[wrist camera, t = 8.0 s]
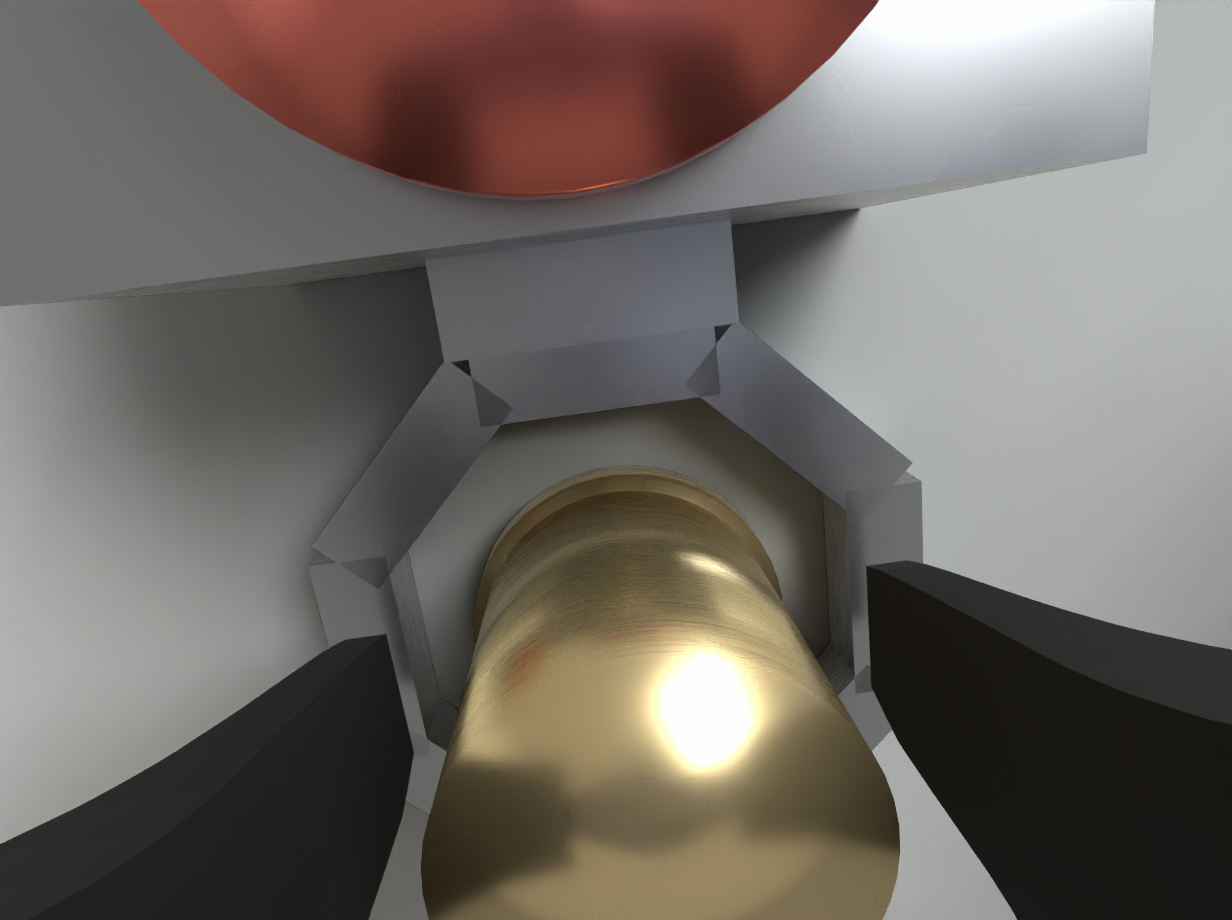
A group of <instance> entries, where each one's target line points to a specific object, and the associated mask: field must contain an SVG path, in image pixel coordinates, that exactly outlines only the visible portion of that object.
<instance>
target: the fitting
mask: <svg viewBox="0 0 1232 920" xmlns="http://www.w3.org/2000/svg"><path fill="white" fill-rule="evenodd" d="M474 638H475V644H476V647H475V650H474V654H473V658H472V661H471V665H470V669H469V672H468V676H467V680H466V683H465V687H464V691H463V694H462V698H461V702H460V705H459V709H458V713H457V716H456V720H455V724H454V727H453V731H452V735H451V738H450V742H449V746H448V749H447V753H446V757H445V760H444V764H443V767H442V771H441V775H440V778H439V782H438V786H437V789H436V793H435V797H434V800H433V804H432V808H431V811H430V815H429V819H428V823H427V827H426V831H425V835H424V840H423V848H422V860H421V876H422V889H423V897H424V901H425V905H426V909H427V913H428V917H429V920H882V919H883V917H884V915H885V912H886V910H887V908H888V906H889V903H890V900H891V897H892V893H893V890H894V886H895V882H896V879H897V872H898V864H899V856H900V836H899V822H898V817H897V812H896V807H895V802H894V798H893V796H892V793H891V790H890V788H889V785H888V782H887V779H886V777H885V774H884V773H883V771H882V769H881V767H880V765H879V764H878V762H877V760H876V758H875V757H874V755H873V753H872V751H871V750H870V748H869V746H868V745H867V743H866V741H865V740H864V738H863V736H862V735H861V733H860V731H859V730H858V728H857V726H856V725H855V723H854V721H853V720H852V718H851V716H850V715H849V713H848V711H847V710H846V708H845V706H844V705H843V703H842V701H841V700H840V698H839V696H838V695H837V693H836V691H835V690H834V688H833V686H832V685H831V683H830V681H829V680H828V678H827V676H826V675H825V673H824V671H823V670H822V668H821V666H820V665H819V663H818V661H817V660H816V658H815V656H814V655H813V653H812V651H811V650H810V648H809V646H808V645H807V643H806V641H805V640H804V638H803V636H802V635H801V633H800V631H799V630H798V628H797V626H796V625H795V623H794V621H793V620H792V618H791V616H790V615H789V613H788V611H787V610H786V608H785V606H784V605H783V603H782V596H781V591H780V587H779V582H778V578H777V576H776V573H775V570H774V568H773V565H772V562H771V560H770V558H769V557H768V555H767V553H766V551H765V550H764V548H763V546H762V544H761V543H760V541H759V540H758V538H757V537H756V535H755V533H754V532H753V530H752V529H751V527H750V526H749V525H748V523H747V522H746V521H745V520H744V518H743V517H742V516H741V514H740V513H739V512H738V511H737V510H736V509H735V508H734V507H733V506H732V505H731V504H730V503H729V502H728V501H727V500H725V499H724V498H723V497H721V496H720V495H719V494H717V493H716V492H715V491H713V490H712V489H710V488H709V487H707V486H705V485H703V484H701V483H700V482H698V481H696V480H694V479H691V478H689V477H686V476H684V475H681V474H679V473H676V472H672V471H668V470H664V469H660V468H654V467H645V466H613V467H606V468H599V469H595V470H591V471H587V472H584V473H580V474H577V475H575V476H572V477H570V478H567V479H565V480H562V481H560V482H558V483H556V484H555V485H553V486H551V487H549V488H548V489H546V490H544V491H543V492H541V493H540V494H539V495H537V496H536V497H535V498H533V499H532V500H531V501H529V502H528V503H527V504H526V505H525V506H524V507H523V508H522V509H521V510H520V511H519V512H518V513H517V514H516V515H515V516H514V517H513V518H512V519H511V521H510V522H509V523H508V524H507V526H506V527H505V528H504V530H503V531H502V532H501V534H500V536H499V538H498V539H497V541H496V543H495V545H494V546H493V548H492V551H491V553H490V556H489V558H488V561H487V563H486V566H485V569H484V572H483V576H482V579H481V582H480V586H479V590H478V594H477V598H476V602H475V612H474Z"/></svg>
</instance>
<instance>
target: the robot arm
mask: <svg viewBox="0 0 1232 920" xmlns="http://www.w3.org/2000/svg"><path fill="white" fill-rule="evenodd" d="M866 579H867V602H868V625H869V647H870V670H871V687H872V689H873V691H874V693H875V696H876V698H877V700H878V702H879V704H880V706H881V708H882V710H883V712H884V714H885V716H886V718H887V720H888V722H889V724H890V726H891V728H892V730H893V732H894V734H895V736H896V738H897V740H898V741H899V743H900V745H901V746H902V748H903V749H904V751H905V752H906V754H907V755H908V757H909V758H910V760H911V761H912V763H913V764H914V766H915V767H916V769H917V770H918V772H919V773H920V775H921V776H922V777H923V779H924V780H925V782H926V783H927V785H928V786H929V788H930V789H931V791H932V792H933V794H934V795H935V796H936V798H937V799H938V801H939V802H940V804H941V805H942V806H943V808H944V809H945V811H946V812H947V814H948V815H949V817H950V818H951V819H952V821H953V822H954V824H955V825H956V827H957V828H958V830H959V831H960V832H961V834H962V835H963V837H964V838H965V840H966V841H967V842H968V844H969V845H970V847H971V848H972V850H973V851H974V853H975V854H976V855H977V857H978V858H979V860H980V861H981V863H982V864H983V866H984V867H985V868H986V870H987V871H988V873H989V874H990V876H991V877H992V879H993V880H994V882H995V884H996V885H997V887H998V888H999V890H1000V891H1001V893H1002V895H1003V896H1004V898H1005V899H1006V901H1007V903H1008V904H1009V906H1010V907H1011V909H1012V911H1013V912H1014V914H1015V916H1016V918H1017V920H1232V650H1230V649H1225V648H1219V647H1214V646H1208V645H1203V644H1198V643H1193V642H1189V641H1184V640H1180V639H1175V638H1171V637H1166V636H1162V635H1157V634H1153V633H1148V632H1144V631H1139V630H1135V629H1131V628H1127V627H1123V626H1119V625H1115V624H1112V623H1108V622H1104V621H1101V620H1098V619H1094V618H1091V617H1087V616H1084V615H1080V614H1077V613H1073V612H1070V611H1066V610H1063V609H1060V608H1056V607H1053V606H1050V605H1047V604H1044V603H1041V602H1038V601H1034V600H1031V599H1028V598H1025V597H1022V596H1019V595H1016V594H1013V593H1010V592H1007V591H1004V590H1002V589H999V588H996V587H993V586H990V585H987V584H984V583H981V582H978V581H975V580H972V579H970V578H967V577H964V576H961V575H958V574H955V573H952V572H949V571H946V570H943V569H939V568H936V567H933V566H930V565H926V564H922V563H918V562H914V561H908V560H904V561H897V562H890V563H883V564H876V565H869V566H866ZM413 756H414V750H413V746H412V742H411V738H410V733H409V729H408V725H407V720H406V716H405V712H404V708H403V703H402V699H401V695H400V691H399V686H398V682H397V678H396V673H395V669H394V665H393V661H392V656H391V652H390V648H389V644H388V639H387V635H386V634H381V635H374V636H367V637H360V638H353V639H346V640H344V641H342V642H340V643H338V644H336V645H334V646H332V647H330V648H329V649H327V650H326V651H324V652H322V653H321V654H319V655H318V656H316V657H315V658H313V659H312V660H310V661H309V662H307V663H306V664H305V665H303V666H302V667H300V668H299V669H297V670H296V671H294V672H293V673H292V674H290V675H289V676H287V677H286V678H285V679H283V680H282V681H280V682H279V683H277V684H276V685H275V686H273V687H272V688H270V689H269V690H267V691H266V692H265V693H263V694H262V695H260V696H259V697H257V698H256V699H255V700H253V701H252V702H250V703H249V704H247V705H246V706H245V707H243V708H242V709H240V710H239V711H237V712H236V713H234V714H233V715H231V716H230V717H228V718H227V719H225V720H223V721H222V722H220V723H219V724H217V725H216V726H214V727H213V728H211V729H210V730H208V731H207V732H205V733H204V734H202V735H201V736H199V737H197V738H196V739H194V740H193V741H191V742H190V743H188V744H187V745H185V746H184V747H182V748H181V749H179V750H178V751H176V752H174V753H173V754H171V755H169V756H168V757H166V758H165V759H163V760H161V761H160V762H158V763H156V764H155V765H153V766H151V767H149V768H148V769H146V770H144V771H143V772H141V773H139V774H137V775H136V776H134V777H132V778H130V779H128V780H127V781H125V782H123V783H121V784H119V785H118V786H116V787H114V788H112V789H110V790H108V791H107V792H105V793H103V794H101V795H99V796H98V797H96V798H94V799H92V800H90V801H88V802H86V803H84V804H82V805H81V806H79V807H77V808H75V809H73V810H71V811H68V812H66V813H64V814H62V815H60V816H58V817H56V818H54V819H52V820H50V821H48V822H46V823H43V824H41V825H39V826H37V827H35V828H33V829H31V830H29V831H27V832H25V833H23V834H21V835H19V836H16V837H14V838H12V839H10V840H8V841H6V842H4V843H2V844H0V920H368V919H369V916H370V913H371V910H372V907H373V904H374V901H375V898H376V895H377V892H378V889H379V886H380V883H381V880H382V877H383V874H384V871H385V868H386V865H387V862H388V859H389V856H390V853H391V850H392V847H393V844H394V841H395V838H396V835H397V832H398V828H399V825H400V822H401V819H402V816H403V811H404V806H405V801H406V796H407V791H408V785H409V779H410V773H411V767H412V762H413Z"/></svg>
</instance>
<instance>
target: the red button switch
mask: <svg viewBox="0 0 1232 920" xmlns="http://www.w3.org/2000/svg"><path fill="white" fill-rule="evenodd" d="M1154 5H1155V0H0V306H12V305H25V304H38V303H52V302H65V301H78V300H91V299H105V298H118V297H131V296H144V295H157V294H171V293H184V292H197V291H210V290H224V289H237V288H250V287H263V286H277V285H290V284H297V283H305V282H312V281H320V280H327V279H335V278H342V277H350V276H357V275H365V274H372V273H379V272H387V271H394V270H402V269H409V268H417V267H424V266H426V269H427V274H428V279H429V285H430V290H431V295H432V300H433V306H434V311H435V316H436V321H437V326H438V332H439V337H440V342H441V347H442V353H443V358H444V362H443V363H442V365H441V366H440V367H439V369H438V370H437V372H436V373H435V374H434V376H433V377H432V379H431V380H430V381H429V383H428V384H427V386H426V387H425V388H424V390H423V391H422V393H421V394H420V395H419V397H418V398H417V400H416V401H415V402H414V404H413V405H412V407H411V408H410V409H409V411H408V412H407V414H406V415H405V416H404V418H403V419H402V421H401V422H400V423H399V425H398V426H397V428H396V429H395V430H394V432H393V433H392V435H391V436H390V437H389V439H388V440H387V442H386V443H385V444H384V446H383V447H382V449H381V450H380V451H379V453H378V454H377V456H376V457H375V458H374V460H373V461H372V463H371V464H370V465H369V467H368V468H367V470H366V471H365V472H364V474H363V475H362V477H361V478H360V479H359V481H358V482H357V484H356V485H355V486H354V488H353V489H352V491H351V492H350V493H349V495H348V496H347V498H346V499H345V500H344V502H343V503H342V505H341V506H340V507H339V509H338V510H337V512H336V513H335V514H334V516H333V517H332V519H331V520H330V521H329V523H328V524H327V526H326V527H325V528H324V530H323V531H322V533H321V534H320V535H319V537H318V538H317V540H316V541H315V542H314V544H313V545H312V547H313V548H314V549H316V550H318V551H319V552H321V553H320V554H319V555H318V556H317V557H316V558H315V560H314V561H313V562H312V563H311V564H310V565H309V566H308V570H309V574H310V578H311V581H312V585H313V589H314V593H315V597H316V601H317V605H318V609H319V612H320V616H321V620H322V624H323V628H324V632H325V636H326V640H327V643H328V647H329V648H330V647H332V646H334V645H336V644H338V643H340V642H342V641H344V640H346V639H353V638H360V637H367V636H374V635H381V634H386V635H387V639H388V644H389V648H390V652H391V656H392V661H393V665H394V669H395V673H396V678H397V682H398V686H399V691H400V695H401V699H402V703H403V708H404V712H405V716H406V720H407V725H408V729H409V733H410V738H411V742H412V746H413V750H414V756H413V762H412V767H411V773H410V779H409V785H408V791H407V796H406V801H407V802H409V803H410V804H412V805H414V806H416V807H417V808H419V809H421V810H423V811H424V812H426V813H428V814H429V815H430V811H431V808H432V804H433V800H434V797H435V793H436V789H437V786H438V782H439V778H440V775H441V771H442V767H443V764H444V760H445V757H446V753H447V749H448V746H449V742H450V738H451V735H452V731H453V727H454V724H455V720H456V716H457V713H458V709H456V708H455V707H453V706H451V705H450V704H448V703H447V702H445V701H443V700H442V699H440V696H439V692H438V687H437V683H436V678H435V674H434V669H433V664H432V660H431V655H430V651H429V646H428V641H427V637H426V632H425V628H424V623H423V619H422V614H421V609H420V605H419V600H418V596H417V591H416V587H415V582H414V577H413V573H412V568H411V564H410V559H409V554H408V549H409V548H410V546H411V545H412V544H413V542H414V541H415V540H416V538H417V537H418V536H419V534H420V533H421V532H422V530H423V529H424V528H425V526H426V525H427V524H428V522H429V521H430V520H431V518H432V517H433V516H434V514H435V513H436V512H437V510H438V509H439V508H440V506H441V505H442V504H443V502H444V501H445V499H446V498H447V497H448V495H449V494H450V493H451V491H452V490H453V489H454V487H455V486H456V485H457V483H458V482H459V481H460V479H461V478H462V477H463V475H464V474H465V473H466V471H467V470H468V469H469V467H470V466H471V465H472V463H473V462H474V461H475V459H476V458H477V457H478V455H479V454H480V453H481V451H482V450H483V448H484V447H485V446H486V444H487V443H488V442H489V440H490V439H491V438H492V436H493V435H494V434H495V432H496V431H497V430H498V428H499V427H500V426H501V424H509V423H516V422H523V421H530V420H538V419H545V418H552V417H560V416H567V415H574V414H581V413H589V412H596V411H603V410H610V409H618V408H625V407H632V406H640V405H647V404H654V403H661V402H669V401H676V400H683V399H690V398H698V397H701V398H702V399H703V400H705V401H706V402H707V403H708V404H710V405H711V406H712V407H714V408H715V409H716V410H717V411H719V412H720V413H721V414H723V415H724V416H725V417H726V418H728V419H729V420H730V421H732V422H733V423H734V424H736V425H737V426H738V427H739V428H741V429H742V430H743V431H745V432H746V433H747V434H748V435H750V436H751V437H752V438H754V439H755V440H756V441H757V442H759V443H760V444H761V445H763V446H764V447H765V448H766V449H768V450H769V451H770V452H772V453H773V454H774V455H775V456H777V457H778V458H779V459H781V460H782V461H783V462H785V463H786V464H787V465H788V466H790V467H791V468H792V469H794V470H795V471H796V472H797V473H799V474H800V475H801V476H803V477H804V478H805V479H806V480H808V481H809V482H810V483H812V484H813V485H814V486H815V487H817V488H818V489H819V490H821V491H822V496H823V513H824V530H825V547H826V564H827V581H828V597H829V614H830V631H831V643H830V644H829V645H828V646H827V648H826V649H825V650H824V651H823V652H822V653H821V654H820V655H819V656H818V658H817V659H816V660H817V661H818V663H819V665H820V666H821V668H822V670H823V671H824V673H825V675H826V676H827V678H828V680H829V681H830V683H831V685H832V686H833V688H834V690H835V691H836V693H837V695H838V696H839V698H840V700H841V701H842V703H843V705H844V706H845V708H846V710H847V711H848V713H849V715H850V716H851V718H852V720H853V721H854V723H855V725H856V726H857V728H858V730H859V731H860V733H861V735H862V736H863V738H864V740H865V741H866V743H867V745H868V746H869V748H870V750H871V751H872V750H873V749H874V748H875V747H876V746H877V745H878V744H879V743H880V742H881V741H882V739H883V738H884V737H885V736H886V735H887V734H888V733H889V732H890V731H891V730H892V728H891V726H890V724H889V722H888V720H887V718H886V716H885V714H884V712H883V710H882V708H881V706H880V704H879V702H878V700H877V698H876V696H875V693H874V691H873V689H872V687H871V670H870V647H869V625H868V602H867V579H866V566H869V565H876V564H883V563H890V562H897V561H904V560H908V561H914V562H918V563H922V564H923V534H922V488H921V481H920V480H919V479H917V478H915V477H914V476H912V475H911V474H909V473H908V472H906V470H907V468H908V467H909V466H910V465H911V464H912V462H911V461H910V460H908V459H907V458H906V457H905V456H904V455H902V454H901V453H900V452H899V451H897V450H896V449H895V448H894V447H892V446H891V445H890V444H889V443H888V442H886V441H885V440H884V439H883V438H881V437H880V436H879V435H878V434H876V433H875V432H874V431H873V430H871V429H870V428H869V427H868V426H867V425H865V424H864V423H863V422H862V421H860V420H859V419H858V418H857V417H855V416H854V415H853V414H852V413H851V412H849V411H848V410H847V409H846V408H844V407H843V406H842V405H841V404H839V403H838V402H837V401H836V400H835V399H833V398H832V397H831V396H830V395H828V394H827V393H826V392H825V391H823V390H822V389H821V388H820V387H819V386H817V385H816V384H815V383H814V382H812V381H811V380H810V379H809V378H807V377H806V376H805V375H804V374H803V373H801V372H800V371H799V370H798V369H796V368H795V367H794V366H793V365H791V364H790V363H789V362H788V361H786V360H785V359H784V358H783V357H782V356H780V355H779V354H778V353H777V352H775V351H774V350H773V349H772V348H770V347H769V346H768V345H767V344H766V343H764V342H763V341H762V340H761V339H759V338H758V337H757V336H756V335H754V334H753V333H752V332H751V331H750V330H748V329H747V328H746V327H745V326H743V325H742V324H741V323H740V322H739V312H738V301H737V289H736V277H735V265H734V253H733V242H732V230H731V225H738V224H745V223H753V222H760V221H768V220H775V219H783V218H790V217H797V216H805V215H812V214H820V213H827V212H835V211H842V210H850V209H857V208H864V207H869V206H874V205H880V204H885V203H890V202H895V201H900V200H906V199H911V198H916V197H921V196H926V195H931V194H937V193H942V192H947V191H952V190H957V189H963V188H968V187H973V186H978V185H983V184H989V183H994V182H999V181H1004V180H1009V179H1015V178H1020V177H1025V176H1030V175H1035V174H1040V173H1046V172H1051V171H1056V170H1061V169H1066V168H1072V167H1077V166H1082V165H1087V164H1092V163H1098V162H1103V161H1108V160H1113V159H1118V158H1123V157H1129V156H1134V155H1139V154H1144V153H1146V151H1147V133H1148V115H1149V96H1150V78H1151V60H1152V42H1153V23H1154Z"/></svg>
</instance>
